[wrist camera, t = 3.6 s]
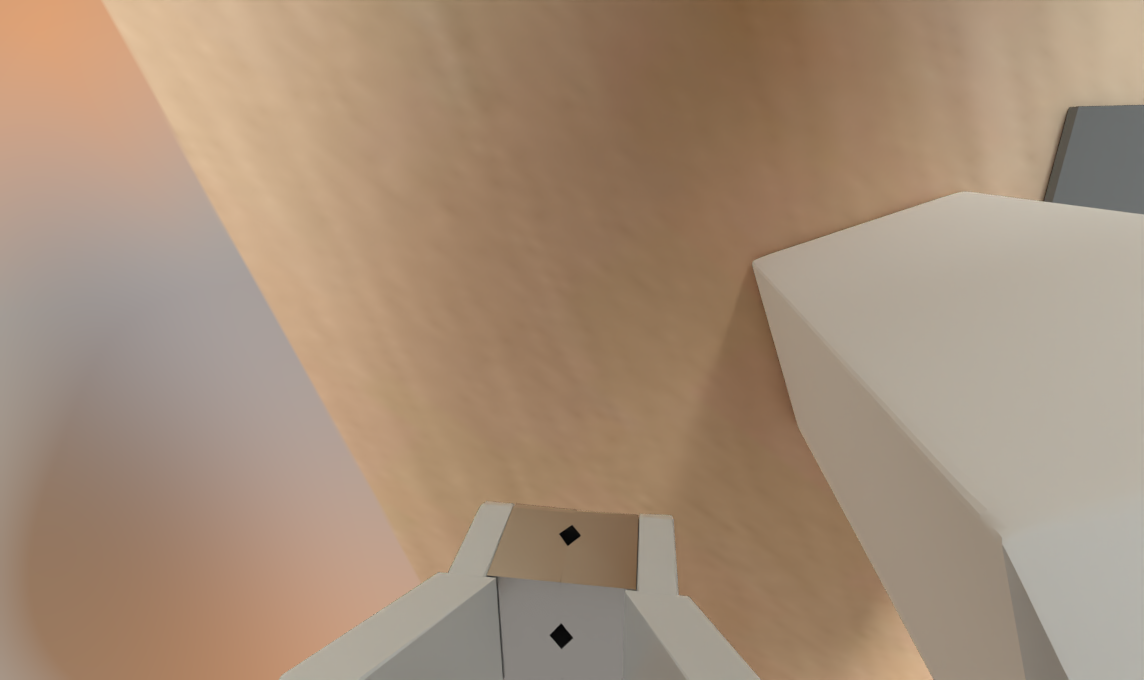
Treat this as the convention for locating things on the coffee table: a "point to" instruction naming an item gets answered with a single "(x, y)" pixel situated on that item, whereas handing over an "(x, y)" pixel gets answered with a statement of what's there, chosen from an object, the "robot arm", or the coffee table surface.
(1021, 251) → the milk carton
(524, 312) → the coffee table surface
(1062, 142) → the mat
